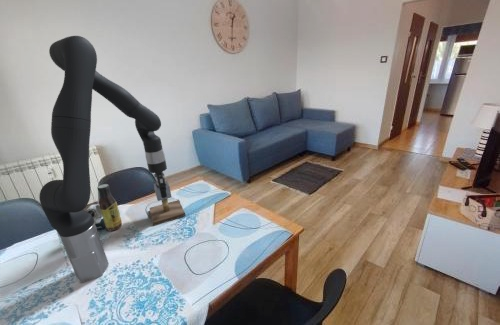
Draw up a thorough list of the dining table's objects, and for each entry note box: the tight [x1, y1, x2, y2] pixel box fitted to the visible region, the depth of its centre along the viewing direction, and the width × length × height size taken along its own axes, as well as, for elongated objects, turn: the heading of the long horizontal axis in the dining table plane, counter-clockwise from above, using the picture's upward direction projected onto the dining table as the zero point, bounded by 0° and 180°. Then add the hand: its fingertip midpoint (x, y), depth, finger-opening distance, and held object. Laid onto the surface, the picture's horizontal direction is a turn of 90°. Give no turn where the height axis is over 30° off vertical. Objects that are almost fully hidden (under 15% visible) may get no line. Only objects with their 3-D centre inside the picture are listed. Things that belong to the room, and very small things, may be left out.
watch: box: [85, 203, 107, 232], centre depth 99 cm, size 6×8×11 cm
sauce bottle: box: [97, 183, 123, 232], centre depth 98 cm, size 6×6×20 cm
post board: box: [149, 198, 186, 226], centre depth 108 cm, size 14×14×8 cm
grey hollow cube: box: [153, 180, 172, 202], centre depth 105 cm, size 6×6×6 cm
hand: (163, 194), depth 106 cm, fingers closed on grey hollow cube, 6 cm apart
